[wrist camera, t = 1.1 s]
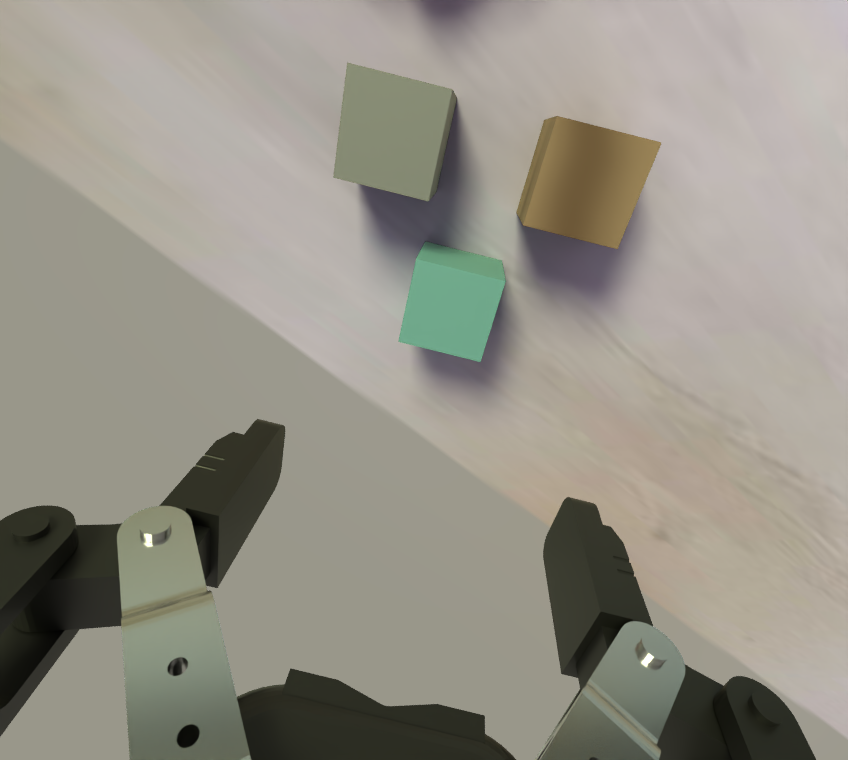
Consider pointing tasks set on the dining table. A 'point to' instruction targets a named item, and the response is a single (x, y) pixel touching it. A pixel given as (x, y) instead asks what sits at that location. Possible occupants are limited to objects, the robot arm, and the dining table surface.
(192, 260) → the dining table surface
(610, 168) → the brass block
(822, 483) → the dining table surface
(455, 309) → the teal block
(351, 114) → the grey-green rectangular block
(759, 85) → the dining table surface
